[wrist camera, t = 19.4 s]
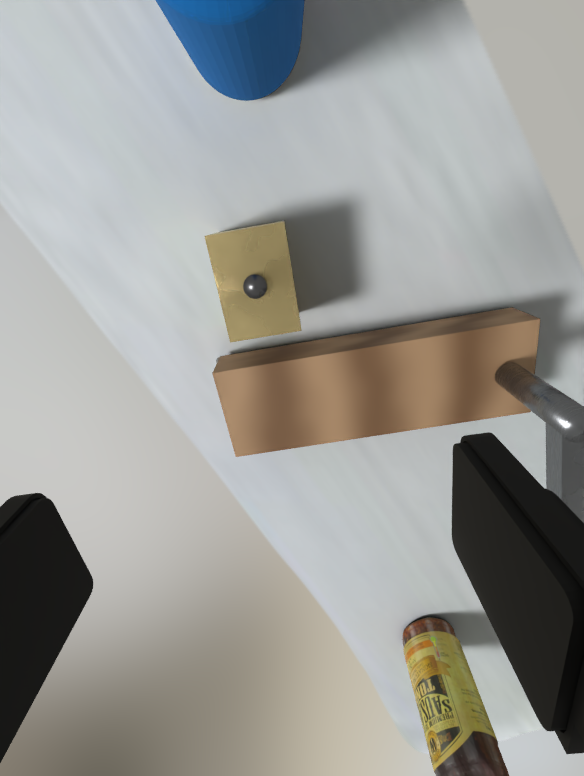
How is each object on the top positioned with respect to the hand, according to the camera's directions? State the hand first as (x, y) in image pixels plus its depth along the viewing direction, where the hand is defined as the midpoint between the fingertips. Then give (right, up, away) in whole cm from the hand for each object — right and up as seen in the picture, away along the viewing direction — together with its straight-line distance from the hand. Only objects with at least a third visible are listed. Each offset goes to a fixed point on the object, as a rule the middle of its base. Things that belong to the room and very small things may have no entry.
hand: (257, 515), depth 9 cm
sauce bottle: (+16, -25, +36) cm, 47 cm away
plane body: (+7, +4, +22) cm, 23 cm away
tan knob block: (-2, +11, +19) cm, 22 cm away
